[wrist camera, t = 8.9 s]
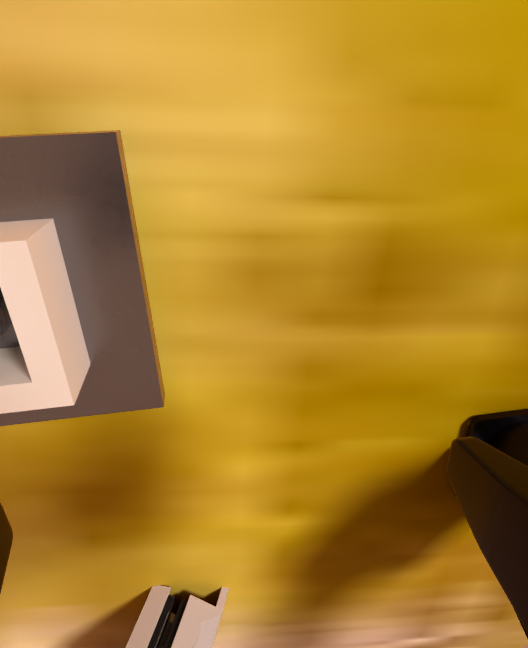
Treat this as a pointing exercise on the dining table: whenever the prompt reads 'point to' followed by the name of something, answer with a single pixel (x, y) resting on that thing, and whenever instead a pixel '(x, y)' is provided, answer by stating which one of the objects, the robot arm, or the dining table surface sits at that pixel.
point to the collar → (39, 321)
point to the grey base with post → (87, 263)
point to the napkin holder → (176, 621)
